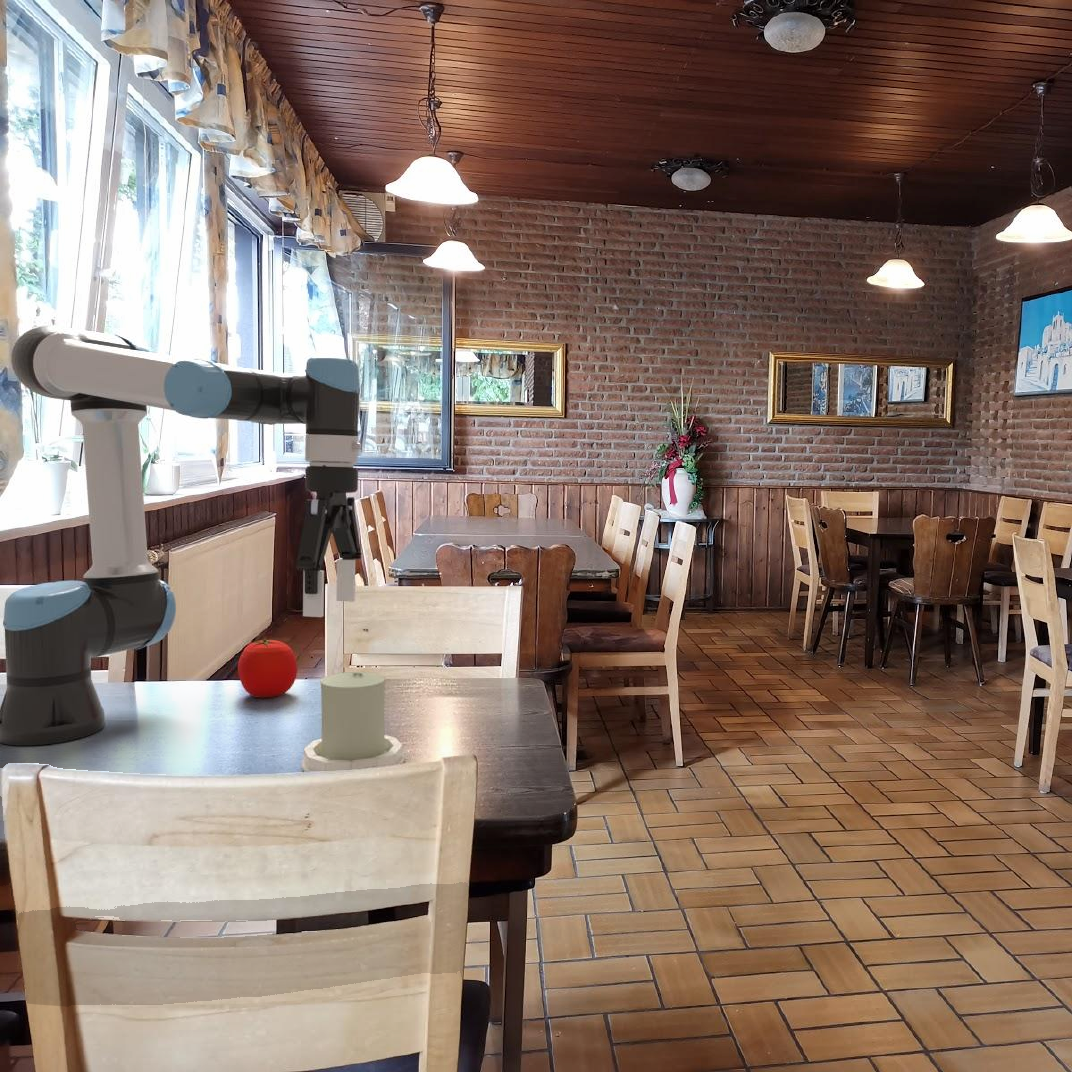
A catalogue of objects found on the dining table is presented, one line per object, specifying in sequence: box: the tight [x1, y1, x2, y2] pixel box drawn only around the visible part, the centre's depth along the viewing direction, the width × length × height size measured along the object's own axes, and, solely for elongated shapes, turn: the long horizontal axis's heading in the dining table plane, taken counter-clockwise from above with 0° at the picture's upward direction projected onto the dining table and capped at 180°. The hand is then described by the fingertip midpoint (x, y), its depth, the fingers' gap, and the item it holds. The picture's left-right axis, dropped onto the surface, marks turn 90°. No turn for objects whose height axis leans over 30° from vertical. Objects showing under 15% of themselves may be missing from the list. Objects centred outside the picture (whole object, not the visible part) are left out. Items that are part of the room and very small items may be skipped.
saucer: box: [301, 734, 405, 771], centre depth 121 cm, size 14×14×2 cm
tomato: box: [237, 638, 298, 698], centre depth 155 cm, size 10×11×11 cm
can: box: [320, 671, 386, 761], centre depth 120 cm, size 9×9×12 cm
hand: (330, 608), depth 124 cm, fingers open, 13 cm apart
